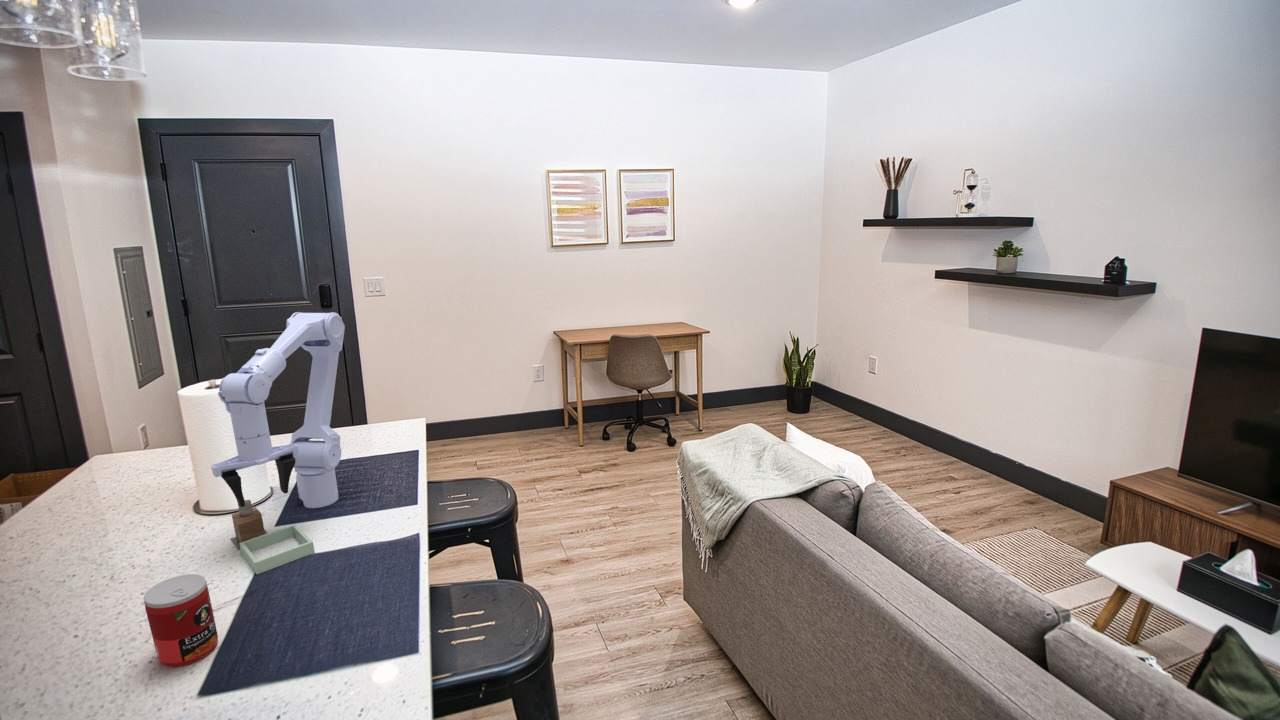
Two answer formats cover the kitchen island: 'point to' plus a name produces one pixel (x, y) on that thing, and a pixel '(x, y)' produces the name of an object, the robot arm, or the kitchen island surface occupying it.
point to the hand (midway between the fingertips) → (263, 498)
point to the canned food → (181, 619)
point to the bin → (280, 557)
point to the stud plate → (238, 541)
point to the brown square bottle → (248, 522)
